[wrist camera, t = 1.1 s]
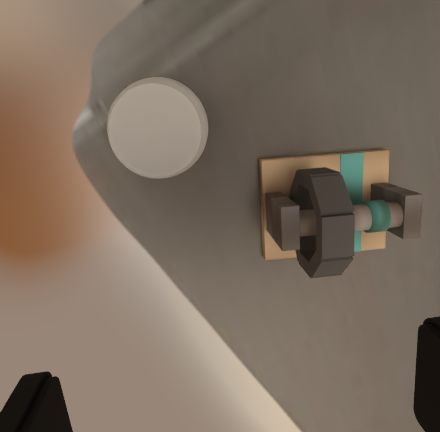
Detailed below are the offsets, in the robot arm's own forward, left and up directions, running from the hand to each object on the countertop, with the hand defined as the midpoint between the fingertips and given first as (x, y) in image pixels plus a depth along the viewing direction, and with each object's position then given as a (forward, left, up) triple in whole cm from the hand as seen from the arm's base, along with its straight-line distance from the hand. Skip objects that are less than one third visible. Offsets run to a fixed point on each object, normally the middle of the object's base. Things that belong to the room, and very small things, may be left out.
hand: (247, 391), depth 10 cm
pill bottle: (-6, -2, -21) cm, 22 cm away
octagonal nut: (+1, +8, -20) cm, 21 cm away
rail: (+1, +10, -21) cm, 23 cm away
